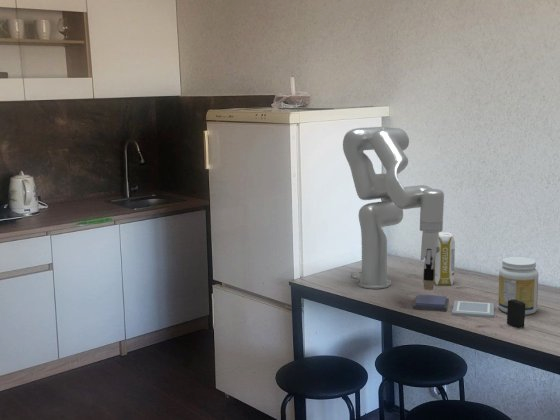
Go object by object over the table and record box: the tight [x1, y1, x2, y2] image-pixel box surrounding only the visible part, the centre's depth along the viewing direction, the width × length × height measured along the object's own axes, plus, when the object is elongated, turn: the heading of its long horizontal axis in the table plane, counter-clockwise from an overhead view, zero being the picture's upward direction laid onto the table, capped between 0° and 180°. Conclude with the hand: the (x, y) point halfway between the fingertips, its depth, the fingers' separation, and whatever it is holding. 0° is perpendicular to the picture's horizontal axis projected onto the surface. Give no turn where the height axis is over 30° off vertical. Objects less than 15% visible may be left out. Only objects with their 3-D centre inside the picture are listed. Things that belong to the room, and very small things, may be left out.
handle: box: [422, 247, 440, 291], centre depth 229 cm, size 5×6×15 cm
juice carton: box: [434, 231, 456, 286], centre depth 255 cm, size 8×9×19 cm
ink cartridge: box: [506, 299, 526, 330], centre depth 207 cm, size 5×2×8 cm, turn 29°
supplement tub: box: [498, 256, 540, 316], centre depth 221 cm, size 12×12×17 cm
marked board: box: [451, 300, 495, 318], centre depth 224 cm, size 13×13×1 cm
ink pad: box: [412, 294, 450, 312], centre depth 230 cm, size 11×11×2 cm
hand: (429, 277), depth 229 cm, fingers closed on handle, 4 cm apart
